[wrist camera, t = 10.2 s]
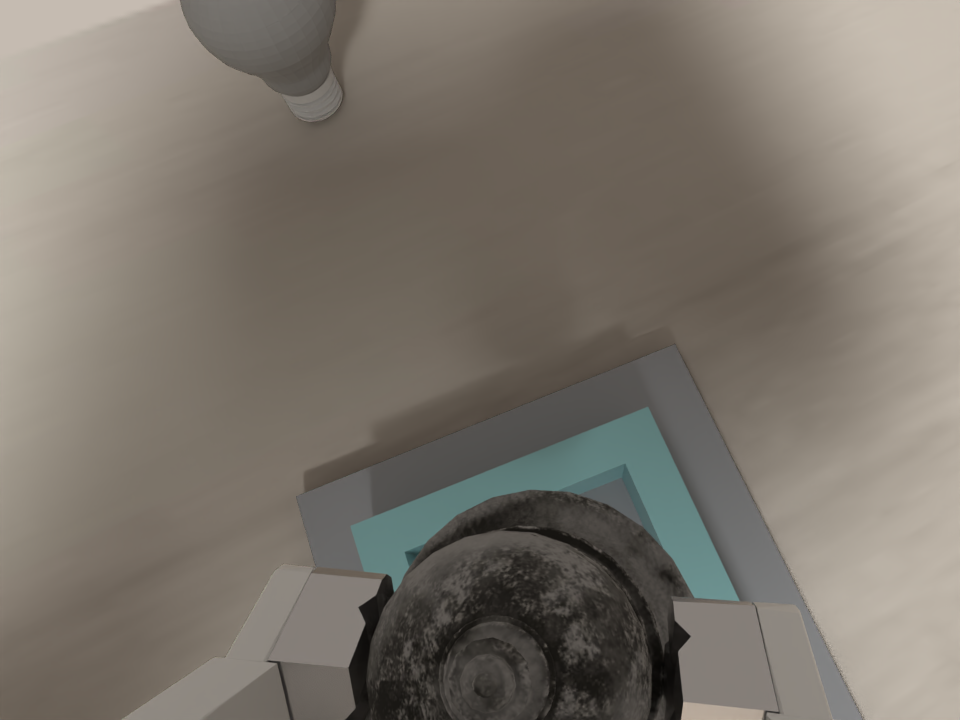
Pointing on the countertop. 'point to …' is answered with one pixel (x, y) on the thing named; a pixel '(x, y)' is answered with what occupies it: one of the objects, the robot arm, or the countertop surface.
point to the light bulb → (274, 46)
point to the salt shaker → (528, 617)
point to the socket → (579, 489)
